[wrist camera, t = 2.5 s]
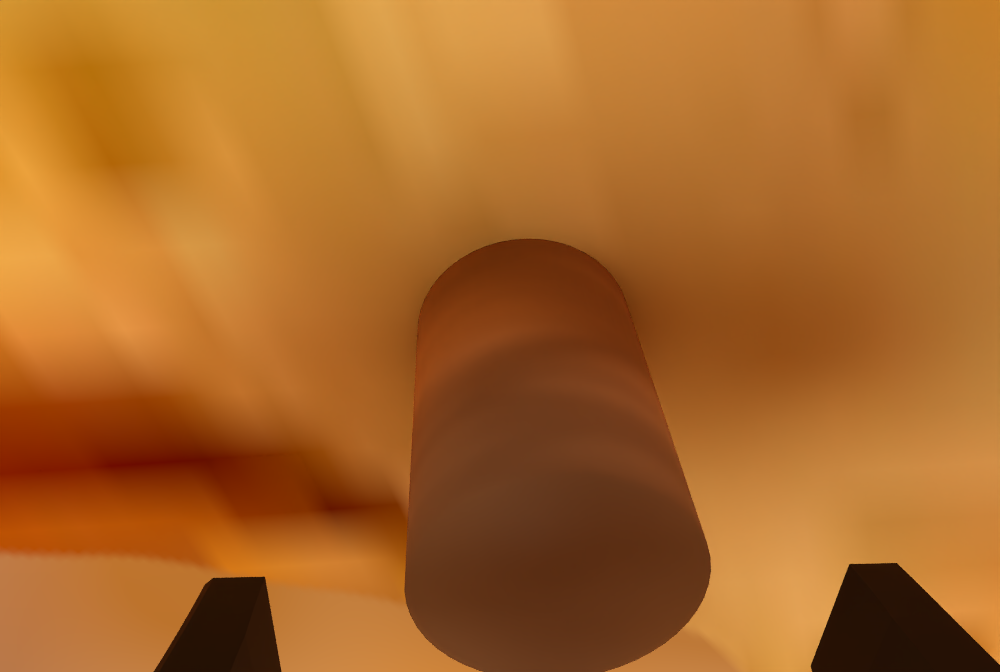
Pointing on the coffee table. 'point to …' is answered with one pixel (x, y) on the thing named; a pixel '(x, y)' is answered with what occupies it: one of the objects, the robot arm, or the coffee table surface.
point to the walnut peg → (543, 472)
